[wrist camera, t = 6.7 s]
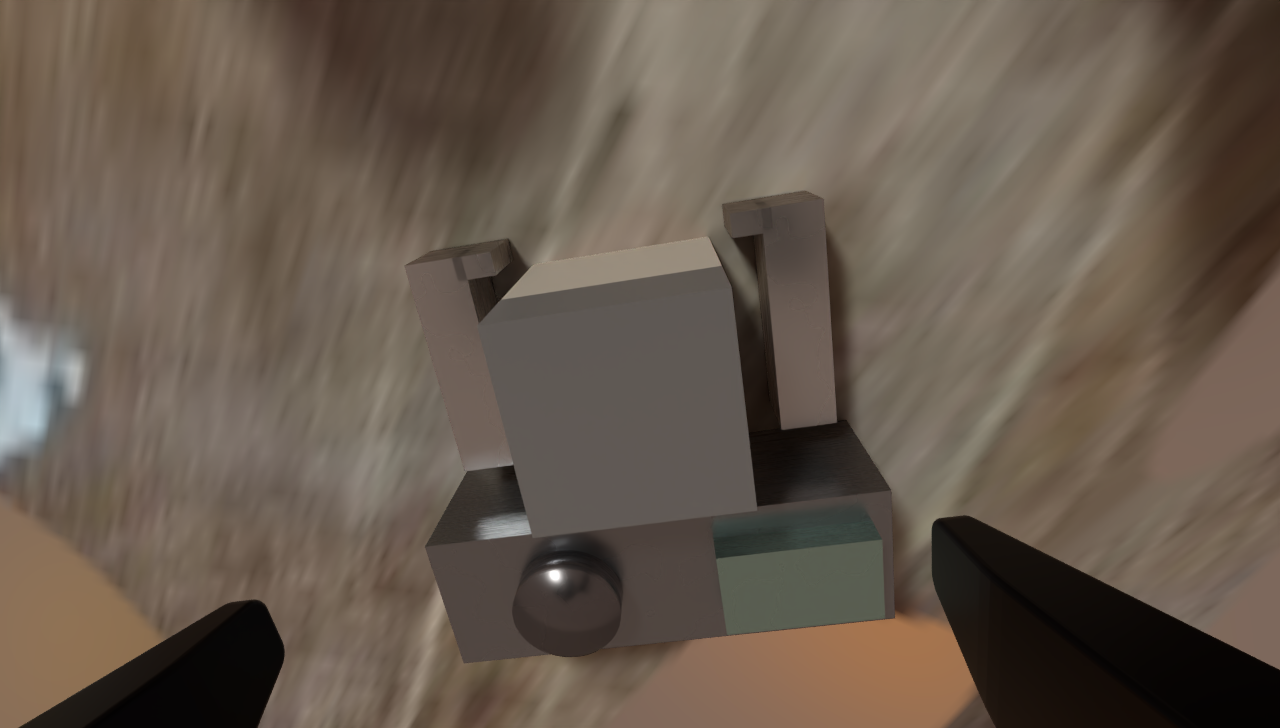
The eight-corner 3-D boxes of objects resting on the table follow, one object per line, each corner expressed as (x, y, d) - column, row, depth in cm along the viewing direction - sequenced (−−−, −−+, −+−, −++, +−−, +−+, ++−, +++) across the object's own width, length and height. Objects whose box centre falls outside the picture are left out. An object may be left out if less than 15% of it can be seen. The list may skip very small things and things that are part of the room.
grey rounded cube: (708, 236, 18) (731, 287, 12) (728, 399, 19) (757, 510, 14) (533, 263, 18) (476, 325, 12) (568, 421, 20) (532, 537, 14)
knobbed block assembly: (405, 255, 18) (321, 298, 13) (834, 185, 17) (896, 207, 12) (497, 570, 22) (455, 686, 17) (852, 529, 21) (905, 640, 16)
